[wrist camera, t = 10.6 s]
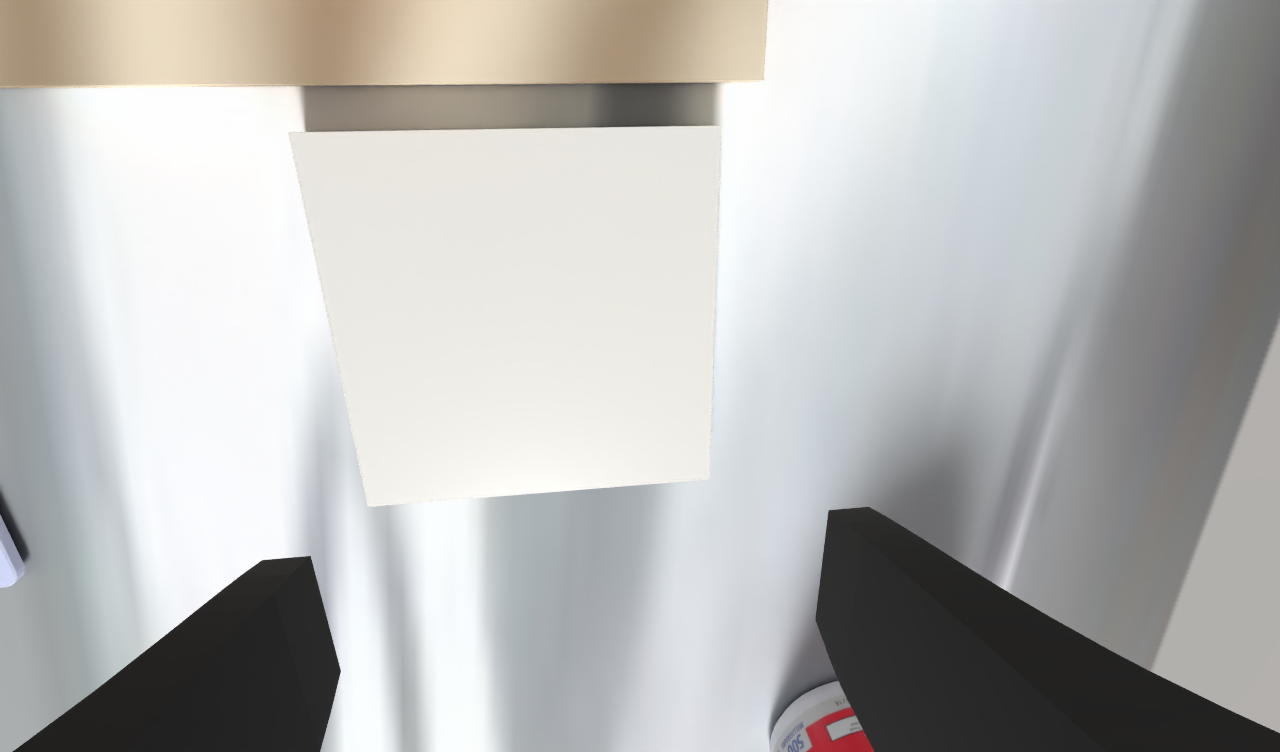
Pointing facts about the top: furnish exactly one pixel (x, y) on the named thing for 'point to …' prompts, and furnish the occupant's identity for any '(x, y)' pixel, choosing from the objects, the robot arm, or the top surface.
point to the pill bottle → (820, 724)
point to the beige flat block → (378, 42)
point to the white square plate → (518, 303)
